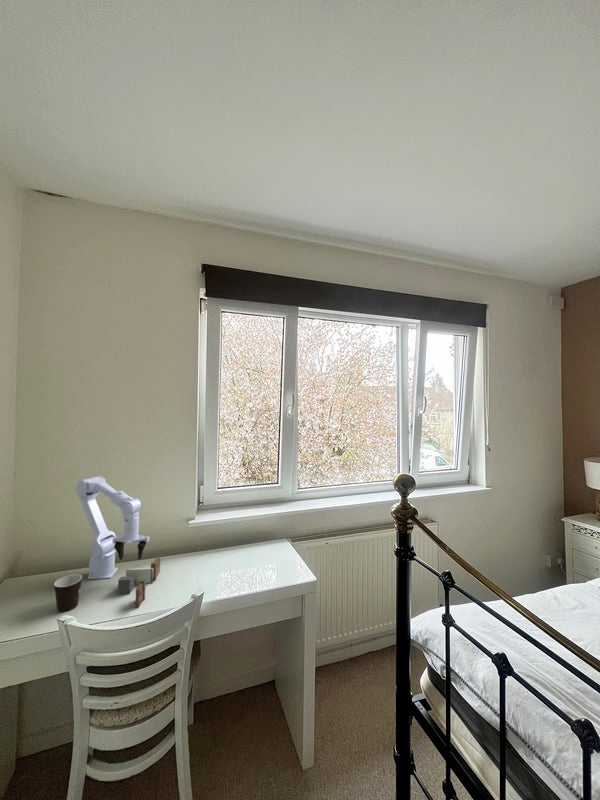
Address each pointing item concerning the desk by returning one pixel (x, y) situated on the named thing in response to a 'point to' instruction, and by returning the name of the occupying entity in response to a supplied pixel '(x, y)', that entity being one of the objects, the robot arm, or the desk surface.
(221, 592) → the desk surface
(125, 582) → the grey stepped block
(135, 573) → the door
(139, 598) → the door frame
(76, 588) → the coffee mug
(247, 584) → the desk surface
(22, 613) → the desk surface
